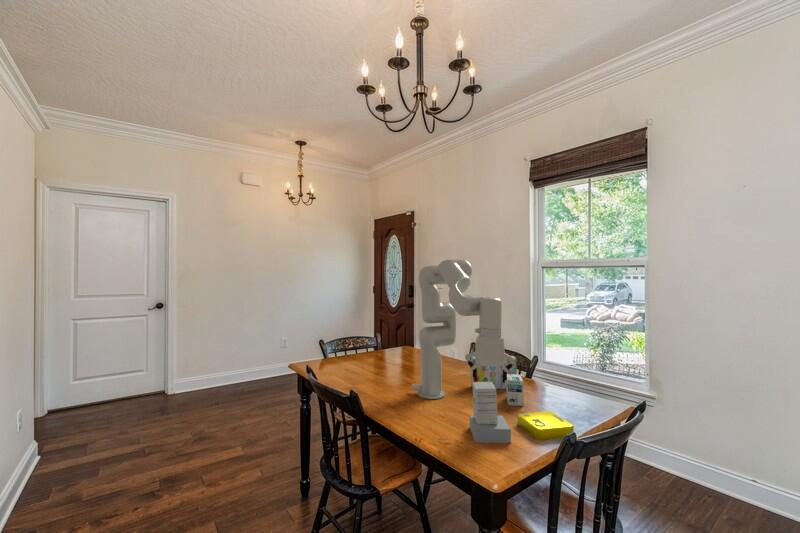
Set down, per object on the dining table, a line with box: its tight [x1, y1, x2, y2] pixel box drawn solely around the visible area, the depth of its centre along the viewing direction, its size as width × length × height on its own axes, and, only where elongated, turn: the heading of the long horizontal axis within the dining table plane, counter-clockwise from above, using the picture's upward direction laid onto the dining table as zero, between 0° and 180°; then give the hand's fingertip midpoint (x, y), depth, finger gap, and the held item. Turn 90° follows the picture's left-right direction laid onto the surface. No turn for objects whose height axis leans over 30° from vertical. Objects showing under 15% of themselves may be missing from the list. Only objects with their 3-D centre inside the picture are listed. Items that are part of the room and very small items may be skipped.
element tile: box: [516, 410, 575, 442], centre depth 139 cm, size 15×15×5 cm
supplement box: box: [472, 382, 498, 425], centre depth 136 cm, size 7×7×13 cm
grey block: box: [469, 414, 512, 444], centre depth 135 cm, size 12×12×5 cm
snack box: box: [470, 355, 518, 390], centre depth 188 cm, size 21×6×15 cm, turn 92°
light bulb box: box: [505, 374, 525, 407], centre depth 169 cm, size 11×7×11 cm, turn 168°
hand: (489, 380), depth 136 cm, fingers open, 9 cm apart
